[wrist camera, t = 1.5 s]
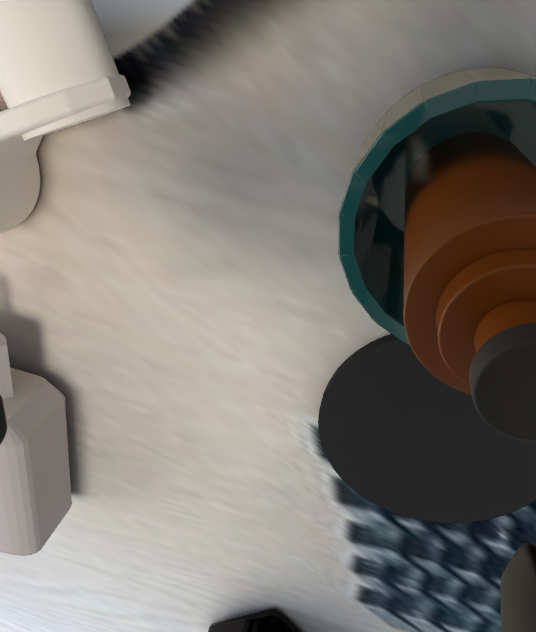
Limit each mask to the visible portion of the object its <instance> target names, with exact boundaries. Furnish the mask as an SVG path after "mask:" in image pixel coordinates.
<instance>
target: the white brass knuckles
mask: <svg viewBox="0 0 536 632" xmlns="http://www.w3.org/2000/svg"><path fill="white" fill-rule="evenodd" d="M0 92H1V94H2V96H3V98H4V100H5V103H6V105H7V107H8V109H6V110H4V111H1V112H0V234H1V233H3V232H5V231H7V230H9V229H11V228H13V227H15V226H17V225H19V224H20V223H22V222H23V221H24V220H25V219H26V218H27V217H28V216H29V215H30V213H31V212H32V210H33V209H34V207H35V205H36V202H37V199H38V196H39V190H40V170H39V164H38V160H37V156H36V152H37V148H38V146H39V144H40V142H41V139H42V137H43V135H47V134H50V133H53V132H56V131H59V130H62V129H65V128H68V127H71V126H74V125H77V124H80V123H83V122H86V121H89V120H92V119H94V118H97V117H100V116H103V115H106V114H109V113H111V112H114V111H117V110H120V109H122V108H125V107H127V106H130V105H131V104H130V102H129V99H128V97H129V96H130V94H131V92H130V89H129V86H128V84H127V81H126V78H125V76H123V75H120V74H119V73H118V70H117V68H116V65H115V62H114V60H113V57H112V55H111V52H110V49H109V47H108V44H107V42H106V39H105V36H104V34H103V31H102V28H101V26H100V23H99V21H98V18H97V15H96V13H95V10H94V7H93V5H92V2H91V0H0Z"/></svg>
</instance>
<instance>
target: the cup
mask: <svg viewBox="0 0 536 632" xmlns="http://www.w3.org/2000/svg"><path fill="white" fill-rule="evenodd" d="M466 133H486V134H491V135H495V136H498V137H501V138H503V139H505V140H507V141H509V142H510V143H512V144H513V145H514V146H516V147H517V148H518V149H519V150H520V151H521V152H522V153H523V154H524V155H525V156H526V158H527V159H528V160H529V161H530V162H531V163H532V164H533V165H534V166H535V167H536V77H534V76H531V75H527V74H524V73H520V72H517V71H513V70H510V69H506V68H504V69H503V68H476V69H466V70H462V71H457V72H453V73H449V74H446V75H443V76H441V77H438V78H435V79H433V80H431V81H429V82H427V83H425V84H423V85H421V86H419V87H417V88H416V89H414V90H413V91H411V92H410V93H408V94H407V95H405V96H404V97H403V98H402V99H400V100H399V101H398V102H397V103H396V104H395V105H394V106H392V107H391V108H390V109H389V110H388V112H387V113H385V115H384V116H383V117H382V118H381V119H380V120H379V122H378V123H377V125H376V126H375V128H374V129H373V130H372V132H371V133H370V135H369V137H368V138H367V140H366V141H365V143H364V145H363V147H362V149H361V152H360V154H359V157H358V159H357V162H356V164H355V167H354V169H353V172H352V175H351V178H350V181H349V184H348V187H347V190H346V193H345V196H344V198H343V201H342V204H341V207H340V210H339V216H338V254H339V259H340V261H341V264H342V267H343V270H344V273H345V276H346V279H347V282H348V285H349V287H350V290H351V291H352V294H353V295H354V296H355V297H356V299H357V300H358V301H359V303H360V304H361V305H362V307H363V308H364V309H365V310H366V312H367V313H368V314H369V316H370V317H371V318H372V319H373V321H375V322H376V323H377V324H378V325H380V326H381V327H383V328H384V329H385V330H387V331H388V332H390V333H391V334H393V335H394V336H396V337H397V338H398V339H400V340H401V341H403V342H404V343H407V344H408V345H410V344H409V342H408V339H407V336H406V332H405V328H404V320H403V308H404V232H405V191H406V186H407V182H408V179H409V177H410V175H411V172H412V170H413V169H414V167H415V165H416V164H417V163H418V161H419V160H420V159H421V158H422V157H423V156H424V155H425V154H426V153H427V152H428V151H429V150H430V149H431V148H433V147H434V146H436V145H437V144H439V143H440V142H442V141H444V140H446V139H449V138H451V137H454V136H457V135H461V134H466Z"/></svg>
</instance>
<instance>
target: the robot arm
mask: <svg viewBox="0 0 536 632" xmlns="http://www.w3.org/2000/svg"><path fill="white" fill-rule="evenodd" d="M6 432H7V421H6V415H5V409H4V404H3V399H2V396H1V395H0V445H1V443H2V442H3V440H4V438H5V436H6ZM500 590H501V632H536V545H534V544H531V543H524V544H522V545H521V546H520V547H519V548H518V550H517V552H516V553H515V555H514V556H513V558H512V559H511V561H510V563H509V564H508V566H507V567H506V569H505V571H504V573H503V575H502V579H501V589H500ZM208 632H301V631H300V630H299V629H298V628H297V627H296V626H295V625H294V624H293V623H292V622H291V621H290V620H289V619H288V618H287V617H286V616H284V615H283V614H282V613H281V612H280V611H279V610H276V609H269V610H265V611H261V612H258V613H254V614H251V615H247V616H243V617H240V618H236V619H232V620H229V621H225V622H221V623H218V624H214V625H211V626H210V627H209V631H208Z"/></svg>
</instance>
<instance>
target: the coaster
mask: <svg viewBox="0 0 536 632" xmlns="http://www.w3.org/2000/svg"><path fill="white" fill-rule="evenodd" d="M318 425H319V435H320V439H321V443H322V447H323V449H324V452H325V454H326V457H327V458H328V460H329V462H330V463H331V465H332V467H333V468H334V470H335V471H336V472H337V473H338V475H339V476H340V477H341V478H342V479H343V480H344V481H345V482H346V483H347V484H348V485H349V486H350V487H351V488H352V489H353V490H355V491H356V492H357V493H358V494H360V495H361V496H363V497H364V498H366V499H367V500H369V501H371V502H372V503H374V504H376V505H378V506H380V507H382V508H384V509H387V510H389V511H392V512H394V513H397V514H400V515H403V516H407V517H410V518H414V519H419V520H424V521H431V522H440V523H465V522H475V521H482V520H487V519H491V518H495V517H499V516H503V515H505V514H508V513H511V512H514V511H516V510H518V509H520V508H522V507H524V506H526V505H528V504H530V503H531V502H533V501H534V500H536V442H532V441H524V440H518V439H515V438H511V437H509V436H506V435H504V434H502V433H500V432H498V431H496V430H495V429H493V428H492V427H491V426H489V425H488V424H487V423H486V422H485V421H484V420H483V419H482V418H481V417H480V415H479V414H478V412H477V411H476V408H475V406H474V403H473V399H472V395H471V394H467V393H465V392H462V391H459V390H457V389H455V388H453V387H451V386H449V385H447V384H445V383H444V382H442V381H441V380H439V379H438V378H436V377H435V376H434V375H433V374H432V373H430V372H429V371H428V370H427V369H426V368H425V367H424V366H423V364H422V363H421V362H420V361H419V360H418V358H417V357H416V355H415V354H414V352H413V351H412V348H411V346H410V345H408V344H407V343H404V342H403V341H401V340H400V339H398V338H397V337H396V336H394V335H393V334H391V335H388V336H385V337H383V338H380V339H378V340H376V341H374V342H372V343H370V344H368V345H366V346H365V347H363V348H362V349H360V350H358V351H357V352H356V353H354V354H353V355H352V356H351V357H349V358H348V359H347V360H346V361H345V362H344V363H343V364H342V365H341V366H340V367H339V368H338V370H337V371H336V372H335V374H334V375H333V377H332V378H331V380H330V381H329V383H328V385H327V387H326V389H325V392H324V394H323V398H322V402H321V406H320V410H319V420H318Z"/></svg>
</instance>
